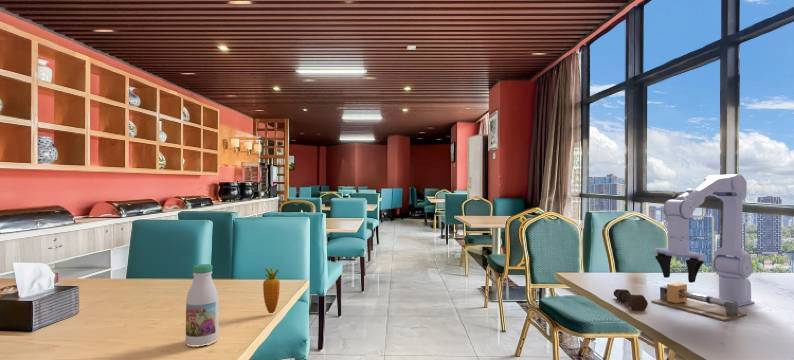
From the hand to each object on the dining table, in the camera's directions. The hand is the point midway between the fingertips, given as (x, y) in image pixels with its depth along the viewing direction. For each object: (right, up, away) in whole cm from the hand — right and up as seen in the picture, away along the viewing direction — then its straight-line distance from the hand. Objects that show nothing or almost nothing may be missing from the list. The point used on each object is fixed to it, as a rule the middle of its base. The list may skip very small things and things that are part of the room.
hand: (679, 279), depth 131 cm
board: (+7, -10, +3) cm, 13 cm away
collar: (+5, -9, +8) cm, 13 cm away
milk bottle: (-141, -11, -25) cm, 143 cm away
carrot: (-130, -11, -2) cm, 130 cm away
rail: (+7, -10, +3) cm, 13 cm away
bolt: (-12, -11, +8) cm, 18 cm away
